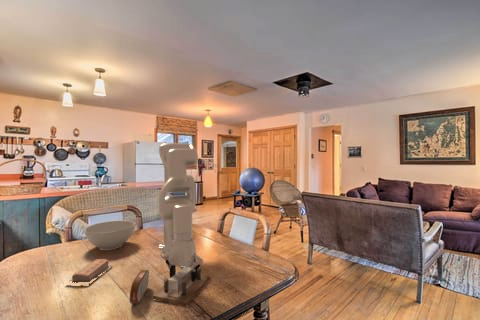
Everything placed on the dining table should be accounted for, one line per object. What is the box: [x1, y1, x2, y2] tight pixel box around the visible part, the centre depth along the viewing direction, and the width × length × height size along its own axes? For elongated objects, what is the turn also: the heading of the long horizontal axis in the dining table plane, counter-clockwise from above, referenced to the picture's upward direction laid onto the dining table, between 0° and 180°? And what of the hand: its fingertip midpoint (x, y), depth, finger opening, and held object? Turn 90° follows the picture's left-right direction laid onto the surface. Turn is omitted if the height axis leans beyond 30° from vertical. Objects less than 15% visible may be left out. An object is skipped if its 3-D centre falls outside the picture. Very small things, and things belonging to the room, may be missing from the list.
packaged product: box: [69, 258, 113, 284], centre depth 109 cm, size 18×5×10 cm
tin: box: [129, 269, 150, 304], centre depth 92 cm, size 15×3×8 cm, turn 5°
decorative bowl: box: [83, 219, 136, 251], centre depth 145 cm, size 27×27×12 cm
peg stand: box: [152, 266, 211, 307], centre depth 98 cm, size 14×20×6 cm
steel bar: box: [168, 267, 192, 295], centre depth 97 cm, size 4×14×5 cm, turn 162°
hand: (183, 278), depth 98 cm, fingers open, 9 cm apart
